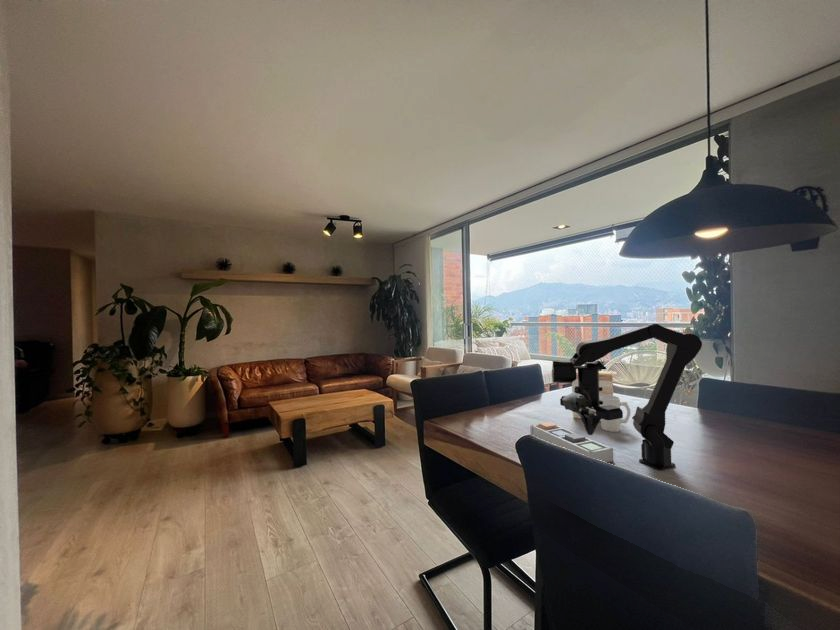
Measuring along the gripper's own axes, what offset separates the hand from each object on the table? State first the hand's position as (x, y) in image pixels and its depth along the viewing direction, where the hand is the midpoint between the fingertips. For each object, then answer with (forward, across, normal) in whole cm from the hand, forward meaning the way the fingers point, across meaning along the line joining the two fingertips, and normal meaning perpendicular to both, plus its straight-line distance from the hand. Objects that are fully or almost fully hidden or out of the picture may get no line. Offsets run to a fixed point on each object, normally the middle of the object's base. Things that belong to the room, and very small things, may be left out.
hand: (590, 434), depth 104 cm
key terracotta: (+5, -19, 0) cm, 20 cm away
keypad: (+7, -10, 0) cm, 12 cm away
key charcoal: (+5, -6, 0) cm, 8 cm away
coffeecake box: (+8, -30, +32) cm, 45 cm away
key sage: (+6, 0, 0) cm, 6 cm away
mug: (+8, -16, +28) cm, 33 cm away
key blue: (+6, -13, 0) cm, 14 cm away
